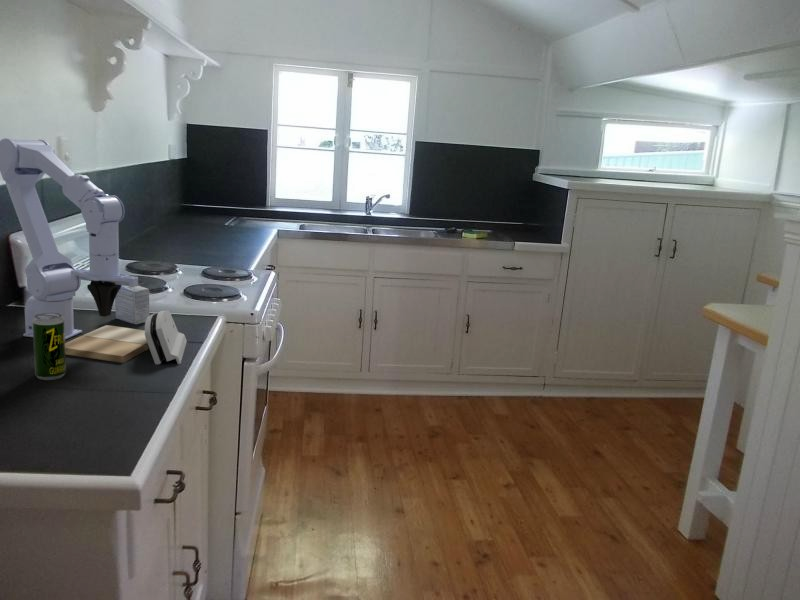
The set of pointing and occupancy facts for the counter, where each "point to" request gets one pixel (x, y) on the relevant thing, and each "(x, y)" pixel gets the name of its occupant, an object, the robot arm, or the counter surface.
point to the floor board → (120, 335)
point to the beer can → (49, 346)
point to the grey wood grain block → (132, 304)
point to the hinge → (164, 338)
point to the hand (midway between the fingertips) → (105, 315)
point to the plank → (103, 349)
